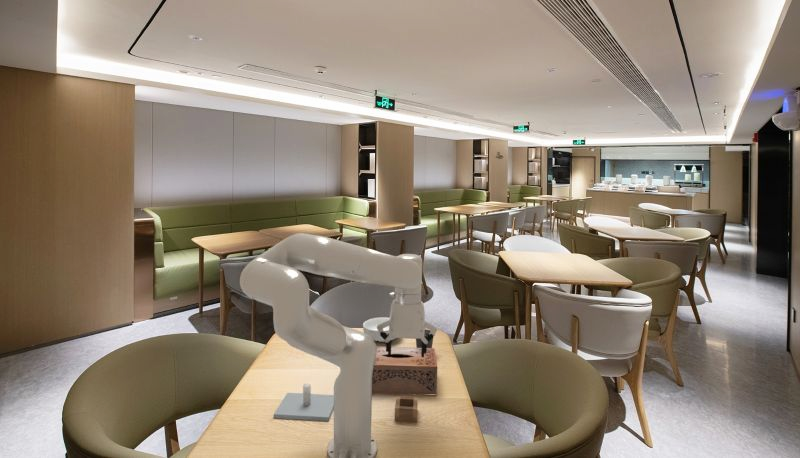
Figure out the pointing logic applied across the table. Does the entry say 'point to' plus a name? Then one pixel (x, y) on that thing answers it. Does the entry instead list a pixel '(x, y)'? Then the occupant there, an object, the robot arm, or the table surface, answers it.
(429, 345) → the coffee cup
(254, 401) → the table surface
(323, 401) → the post board
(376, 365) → the tissue box cover
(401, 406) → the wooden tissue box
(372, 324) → the cereal bowl
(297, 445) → the table surface
